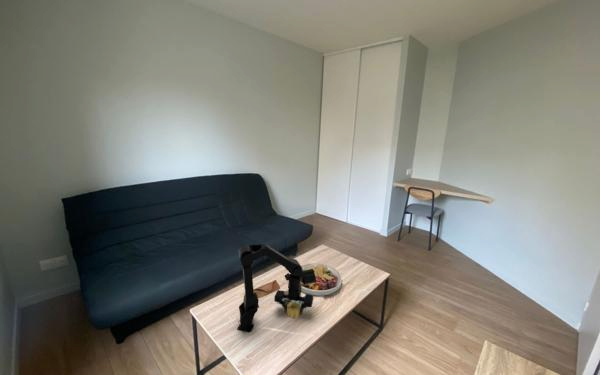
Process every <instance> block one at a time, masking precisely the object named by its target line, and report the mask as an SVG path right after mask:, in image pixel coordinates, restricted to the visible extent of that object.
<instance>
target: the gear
mask: <svg viewBox="0 0 600 375" xmlns="http://www.w3.org/2000/svg"><path fill="white" fill-rule="evenodd" d="M300 309H301V307H300V304H299V303H298V304H297V303H296V302H294V303H292V302H290V303H289V305H287V313H286V314H287V317H290V318H291V319H294V318H299V316H301V315H300Z"/></svg>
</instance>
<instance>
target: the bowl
mask: <svg viewBox="0 0 600 375" xmlns="http://www.w3.org/2000/svg"><path fill="white" fill-rule="evenodd" d="M300 265H301V264H300ZM301 267H302V270H303V271H305V270H310V269H313V270H314V273H315V277H316V282H315V283H310V284H305V285H304V284H303V283H301V280H300V284H302V288H301V293H302V292H303V293H304V294H307V295H312V296H318V297H319V296H324V297H325V296H329V295H333V294H334V293H335V292H337V290H339V288H340V287H341V285H342V282H343V276H342V274H341V272H340V271H339V270H337V269H336V268H335V267H333V266H331V265H328V264H326V263H325V264H324V263H319V262H318V263H317V262H316V263H315V262H312V263H311V262H310V263H305V264H302V265H301Z"/></svg>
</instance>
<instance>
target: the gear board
mask: <svg viewBox="0 0 600 375" xmlns="http://www.w3.org/2000/svg"><path fill="white" fill-rule="evenodd" d="M300 296H301V297H302V294H301V295H300ZM291 302H292V303H294V302H296V303H297V304H298V303H299V304H300V307H301V304H302V301H293V300H291ZM289 303H290V302H289ZM276 304H277V305H280V304H279V302H276ZM287 305H289V304H287Z"/></svg>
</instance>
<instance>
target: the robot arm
mask: <svg viewBox="0 0 600 375" xmlns="http://www.w3.org/2000/svg"><path fill="white" fill-rule="evenodd" d="M238 256H239V260H240V264H241V266H242V274H243V275H242V276H243V284H244V295H243V301H242V302H241V303H240V304H239V306H238V309H239V310H238V311H239V324H238V327H237V328H236V329H237V331H241V332H246V333H251V332H252V330H253V328H254V326H255V324H254V323H253V322H254V321H253V320H254V318H255V315H256V313H257V312H258V310H259V309H260V304H259V298H258V297H257V293H256V292H255V293H254V291H253V289H254V282H253V270H252V268H253V264H254V261H257V260H259V259H261V258H262V257H266V258H267V257H268V259H270V260H272V261H274V262H275V263H277V264H279V265H280V266H282V267H284V268H285V270H286V271H287V273H286V274H285V275H283V276H284V279H285V281H288V284H287V291H288V295H285V291H286V290H280V289H279V290H277V291H275V294H274V297H273V298H274V299H273V300H274V302H275V303H277V302H279V304H278V305H281V306H282V308H283V309H284V311H285V313H286V314H287V300H293V301H302V304H301V309H300V315H299V316H301V315H302V313H303V311H304V310H305V309H307V308H312V307H313V302H314V295H310V294H307V293H305V295H303V296H302V291H301V288H302V284H300V280H301V283H303V284H304V285H305V284H310V283H315V282H316V277H315V273H314V270H313V269H310V270H305V271H303V270H302V267H301V264H300V262H299V260H297V259H296V258H293V257H289V256H288V257H287V256H286V255H284V254H283V253H281V252H279V251H278V250H276V249H274V248H273V247H271V246H270V245H268V243H260V244H258V243H257V244H256V243H255V244H253V243H251V244H243V245H241V246H240V247H239V248H238ZM300 295H301V296H300Z"/></svg>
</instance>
